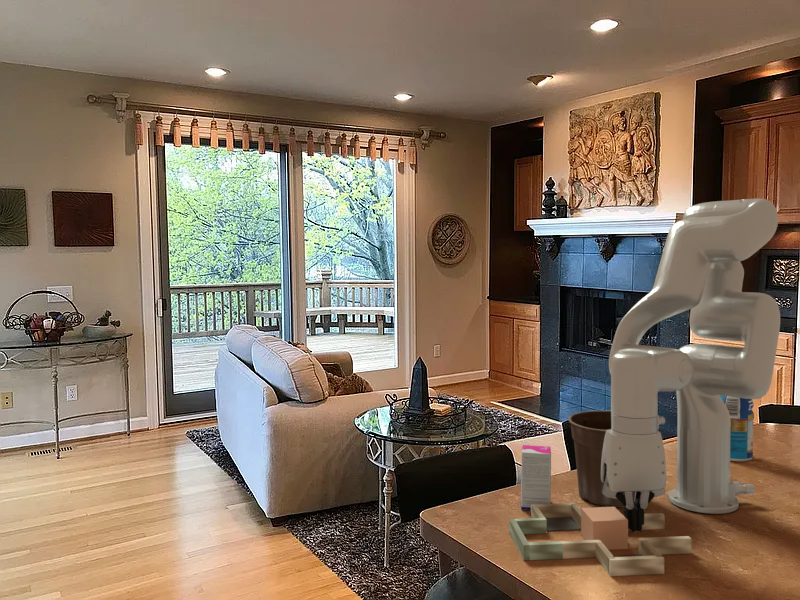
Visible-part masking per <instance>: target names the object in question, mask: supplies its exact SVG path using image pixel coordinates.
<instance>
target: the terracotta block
mask: <svg viewBox="0 0 800 600" xmlns="http://www.w3.org/2000/svg"><path fill="white" fill-rule="evenodd" d="M580 509H581V530H580V536H581V538H582V539H583V538H584V539H583V540H601V542H602V543H603V544H604V545H605V547H606V548H607V549H608V550H609V551H610V550H611V551H612V550H628V549H629V530H628V519H627V518H626V517H625V516H623V515H624V514H622V512H620V510H619V509H617V507H608V506H601V507H600V506H599V507H595V506H594V507H581V508H580Z"/></svg>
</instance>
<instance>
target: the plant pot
mask: <svg viewBox="0 0 800 600" xmlns="http://www.w3.org/2000/svg"><path fill="white" fill-rule="evenodd" d="M568 423H569V424H570V430H571V438H572V439H573V444H574V453H575V456H574V457H575V464H576V473H577V474H576V476H577V486H578V487H577V488H578V489H577V490H578V495H579V497H580V498H581V499H583V500H588V501H589V503H590V504H594V505H598V506H601V507H615V508H622V507H623V508H624V505H623V504H622V503H621V502H620V501H619V500H618V499H614V498H609V497H606V496H605V495H604V494H603V493H602V490H603V486H604V483H603V482H602V481H601V459H602V450H603V443H604V438H605V433H606V430H609V429H611V410H586V411H580V412H579V411H578V412H575V413H572V414H570V416H568ZM634 496H635V492H632V498H633V503H634Z"/></svg>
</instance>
